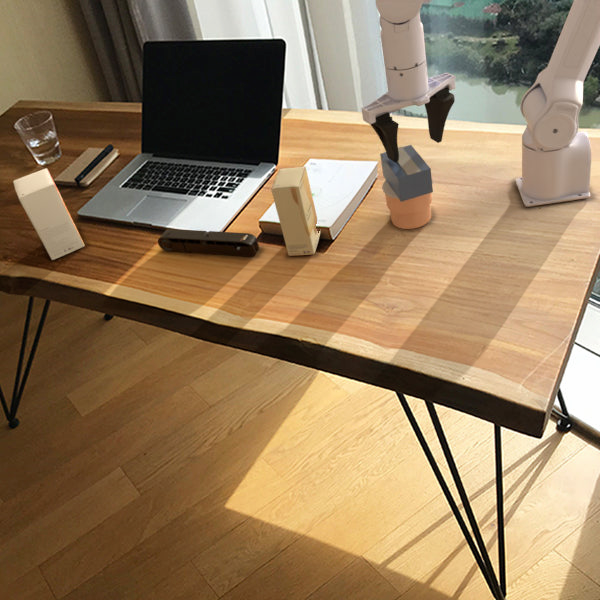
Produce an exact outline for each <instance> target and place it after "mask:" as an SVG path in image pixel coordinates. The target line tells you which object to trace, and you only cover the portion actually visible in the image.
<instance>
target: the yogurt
mask: <svg viewBox="0 0 600 600" xmlns="http://www.w3.org/2000/svg"><path fill="white" fill-rule="evenodd" d="M432 185H433V180H432ZM381 186H382V187H381V188H382V193H384V197H385V203H386V207H387V209H388V210H389V212H390V219H391V223H392V224H393V226H394V227H396V228H399V229H402V230H403V229H404V230H413V229H418V228H421V227H423V226H425V225H426V224H428V223H429V222H430V221H431V218H432V208H431V204H432V202H433V192H432V193H428V194H425V195H422V196H418V197H415V198H412V199H408V200H405V201H402V202H401V201H400V200H399V198H398V197H397V195H396V194H395V192H394V191H393V189H392V188H391V187H390V185H389V184H388V182H387V181H386V180H384V181H383V183H382V185H381Z"/></svg>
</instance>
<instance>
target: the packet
mask: <svg viewBox="0 0 600 600" xmlns="http://www.w3.org/2000/svg"><path fill="white" fill-rule="evenodd" d="M398 152H399V160H398V161H396V162H394V161H392V160H391V159H389V158H388V156H387V153H386V151H385V152H381V153H379V156H380V162H381V163H380V164H381V168H382V176H383V179H384V180H385V181H387V182H388V184H389V185H390V187H391V188H392V189H393V191H394V192H395V194H396V195H397V197H398V198H399V200H400V201H401V202H402V201H405V200H408V199H412V198H415V197H418V196H422V195H425V194H428V193H432V194H433V193H434V188H433V184H432V181H433V177H432V169H431V167H430V165H428V163H427V162H426V161H425V159H423V158H422V156H421V155H420V153H418V151H417V150H416V149H415V148H414V147H413V145H412V144H408V145H404V146H398Z"/></svg>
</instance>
